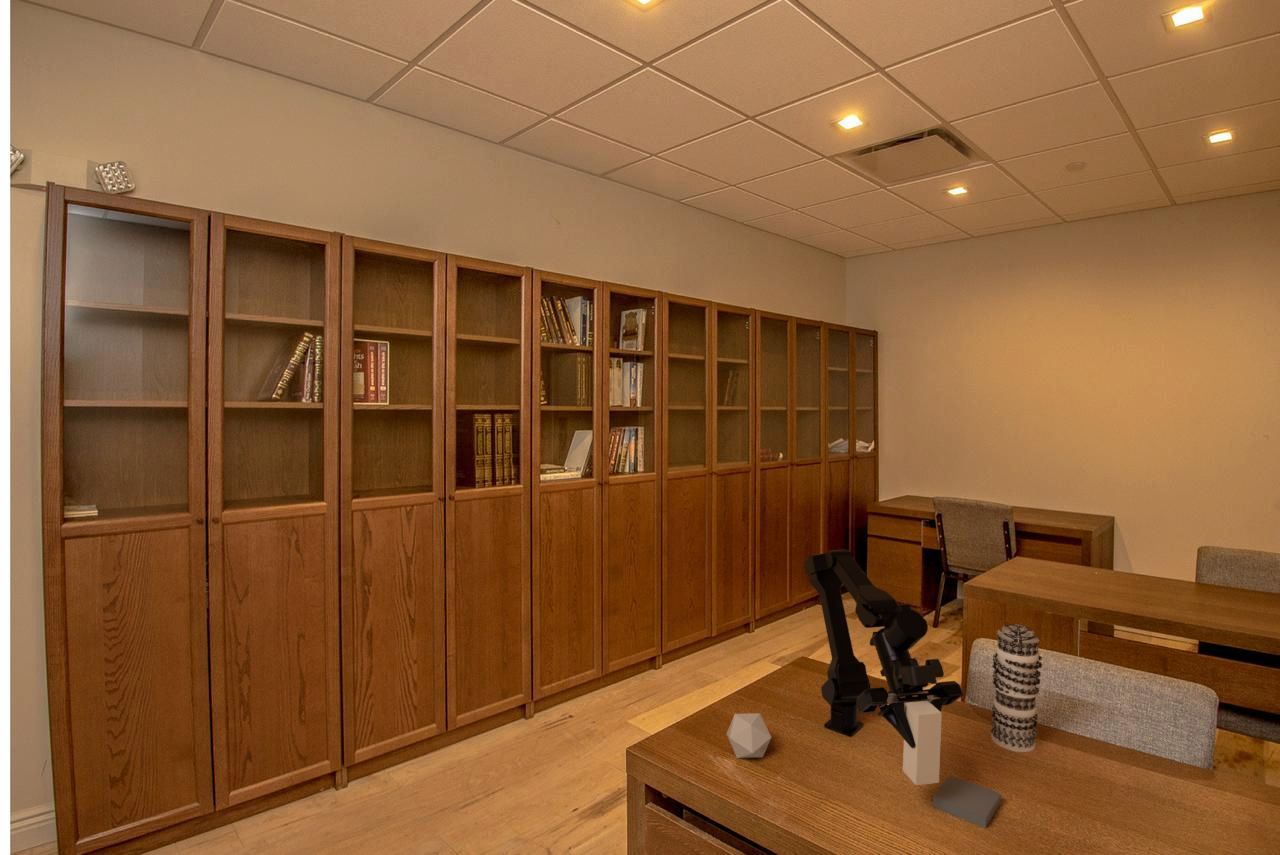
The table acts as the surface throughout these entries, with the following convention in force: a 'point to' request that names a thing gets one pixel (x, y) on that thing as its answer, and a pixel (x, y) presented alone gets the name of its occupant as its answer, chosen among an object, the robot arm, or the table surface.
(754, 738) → the die
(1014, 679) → the decorative candle
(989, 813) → the plate
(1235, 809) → the table surface
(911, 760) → the tall white pillar block
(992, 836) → the table surface
